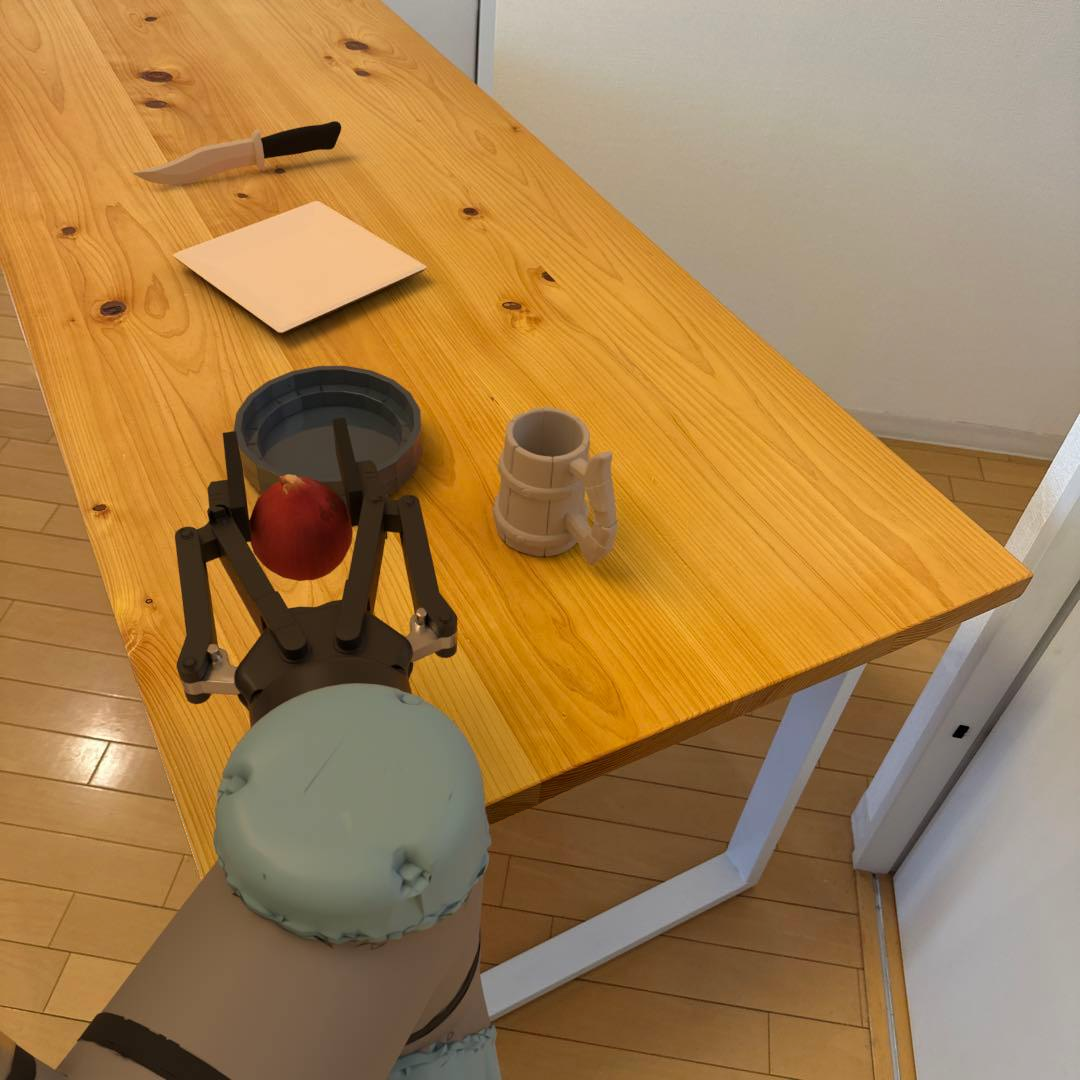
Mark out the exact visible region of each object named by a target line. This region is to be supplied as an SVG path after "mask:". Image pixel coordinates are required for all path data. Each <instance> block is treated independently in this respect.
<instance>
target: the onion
mask: <svg viewBox="0 0 1080 1080" xmlns="http://www.w3.org/2000/svg"><path fill="white" fill-rule="evenodd" d="M249 523H250V531H251V539H252V542H250V546H251V550H252V552H253V554H254V556H255V557H256V559H257V560H259V563H261V564H262V566H264V567H265V568H266V569H267V570H268V571H270V572H272V573H273V574H276V575H278V576H280V577H281V578H283V579H288V580H292V581H297V582H303V581H305V582H306V581H316V580H318V579H320V578H323V577H326V576H328V575H329V574H331V573H332V572H333V571H335V569H337V568H339V566H340V565H341V564H342V563H343V561H344V559H345V558H346V557H347V554H348V552H349V549H351V545H352V543H353V533H354V531H353V527H352V525H351V520H350V516H349V511H348V507H347V506H346V504H345V503H344V501H343V500H342V499H341V498H340V497H339V496H338V495H337V493H336V492H335V491H334V490H333V489H332V488H331V487H329V486H328V485H327V484H325V483H323V482H320V481H317V480H314V479H311V478H307V477H297V476H296V475H292V474H288V475H284V476H280V481H279V482H277V483H275V484H273V485H272V486H271V487H270V488H268V489H267V490H266V491H265V492H264V493H263V494H261V495H259V497H258V498H257V499H256V501H255V502H254V506H253V509H252V511H251V515H250V516H249Z"/></svg>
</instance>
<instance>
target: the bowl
mask: <svg viewBox="0 0 1080 1080" xmlns="http://www.w3.org/2000/svg"><path fill="white" fill-rule="evenodd" d="M339 418H345V419H346V424H347V428H348V432H349V436H350V441H351V445H352V449H353V453H354V458H355V462H360V461H367V460H371V461H372V462H373V463H374V464H375V465H376V468H377V472H378V476H379V480H380V484H381V488H382V492H383V494H384V495H385V496H386V497H388V496H389V495H391V494H393V493H395V492H397V491H398V490H400V488H402V487H403V485H405V484H406V483H407V481H409V480H410V479H411V478H412V477H413V476H414V474H415V473H416V470H417V468H418V465H419V464H420V461H421V459H422V457H423V442H422V439H423V437H422V411H421V409H420V406H419V405H418V402H416V400H415V398H414V396H413V395H412V393H411V392H410V391H409V390H408V389H406V388H405V387H404V386H402V385H401V383H399V382H398V381H396V380H395V379H394V378H391V377H389V376H386V375H383V374H381V373H379V372H376V371H374V370H372V369H365V368H360V367H355V366H349V365H315V366H311V367H307V368H301V369H295V370H292V371H288V372H286V373H284V374H282V375H280V376H277V377H273V378H272V379H269V380H267V381H266V382H264V383H263V384H262V385H260V386H258V387H257V388H256V389H254V390H253V391H252V392H251V393H249V395H248V396H246V398H245V399H244V401H243V402H242V404H241V405H240V407H239V408H238V410H237V411H236V413H235V419H234V425H233V431H236V434H237V440H238V445H239V450H240V455H241V460H242V465H243V473H244V479H245V480H246V481H248V483H250V485H252V487H254V488H255V489H256V490H257V491H258V492H259V493H260V494H261V495H262V494H263V493H264V492H265V491H266V490H267V489H268V488H270V487H271V486H272V485H273V484H275V483H277V482H279V481H280V476H284V475H288V474H292V475H296V476H297V477H307V478H311V479H314V480H317V481H320V482H323V483H325V484H327V485H328V486H329V487H331V488H332V489H333V490H334V491H335V492H336V493H337V495H338V496H339V497H340V498H341V499H342V500H343V501H344V503H345V504H346V506H347V502H346V497H345V493H344V488H343V483H342V479H341V474H340V470H339V465H338V460H337V456H336V448H335V439H334V429H333V420H332V419H339ZM347 507H348V506H347Z"/></svg>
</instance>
